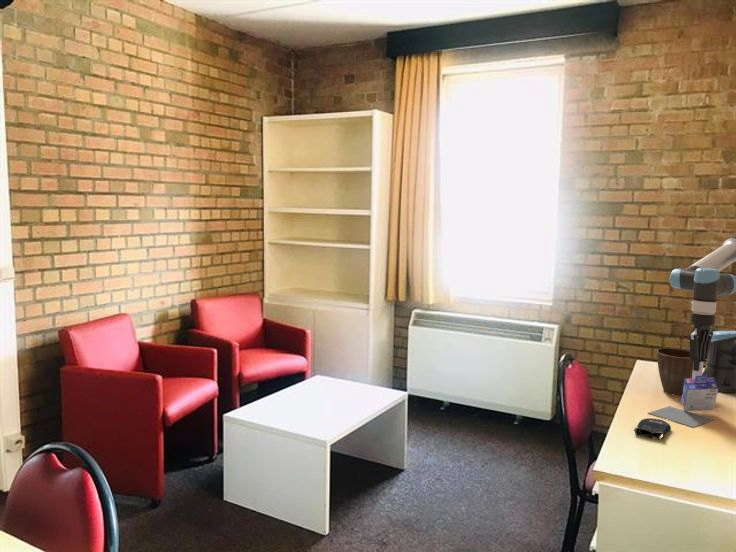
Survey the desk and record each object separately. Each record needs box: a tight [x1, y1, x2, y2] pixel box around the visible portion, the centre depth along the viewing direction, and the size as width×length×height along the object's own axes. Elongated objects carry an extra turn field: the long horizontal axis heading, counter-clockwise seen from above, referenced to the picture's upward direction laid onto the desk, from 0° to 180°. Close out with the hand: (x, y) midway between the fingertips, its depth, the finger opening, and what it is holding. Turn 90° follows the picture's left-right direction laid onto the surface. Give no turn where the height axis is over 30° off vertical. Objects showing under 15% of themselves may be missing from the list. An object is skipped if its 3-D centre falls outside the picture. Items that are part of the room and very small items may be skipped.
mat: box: [647, 405, 715, 429], centre depth 221 cm, size 14×16×1 cm
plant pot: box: [656, 347, 694, 396], centre depth 248 cm, size 15×15×16 cm
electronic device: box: [633, 417, 672, 441], centre depth 206 cm, size 9×6×15 cm
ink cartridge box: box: [681, 375, 719, 412], centre depth 222 cm, size 10×6×14 cm
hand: (696, 379), depth 223 cm, fingers closed
